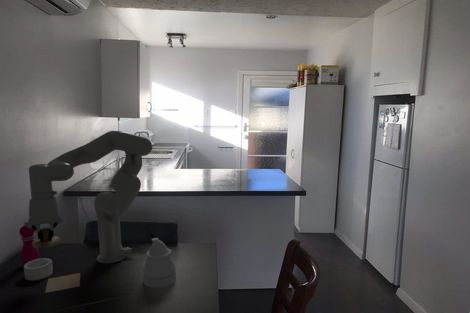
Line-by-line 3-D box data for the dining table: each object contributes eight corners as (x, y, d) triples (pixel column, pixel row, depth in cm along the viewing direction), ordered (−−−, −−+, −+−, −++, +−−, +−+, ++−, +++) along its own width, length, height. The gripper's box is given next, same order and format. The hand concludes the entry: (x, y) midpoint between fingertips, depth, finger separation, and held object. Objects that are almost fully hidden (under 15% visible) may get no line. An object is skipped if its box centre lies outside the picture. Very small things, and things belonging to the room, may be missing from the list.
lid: (60, 237, 146) (59, 223, 146) (60, 245, 137) (59, 230, 137) (33, 241, 142) (32, 226, 141) (31, 250, 133) (29, 234, 132)
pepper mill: (31, 268, 153) (26, 225, 150) (17, 267, 154) (12, 224, 151) (43, 261, 160) (39, 219, 157) (30, 260, 161) (25, 219, 158)
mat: (80, 274, 146) (80, 272, 146) (79, 287, 135) (79, 286, 135) (48, 280, 142) (48, 278, 142) (45, 294, 131) (44, 292, 131)
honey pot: (165, 290, 132) (163, 245, 130) (137, 285, 137) (134, 241, 134) (181, 274, 144) (180, 233, 142) (155, 270, 149) (153, 230, 146)
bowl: (53, 268, 152) (52, 256, 152) (51, 278, 143) (50, 265, 142) (27, 272, 148) (26, 260, 148) (23, 283, 139) (22, 270, 139)
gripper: (65, 191, 144) (68, 233, 146) (19, 195, 137) (23, 240, 140) (64, 195, 137) (68, 239, 140) (17, 200, 130) (21, 246, 133)
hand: (46, 239), depth 140 cm, fingers closed on lid, 2 cm apart
